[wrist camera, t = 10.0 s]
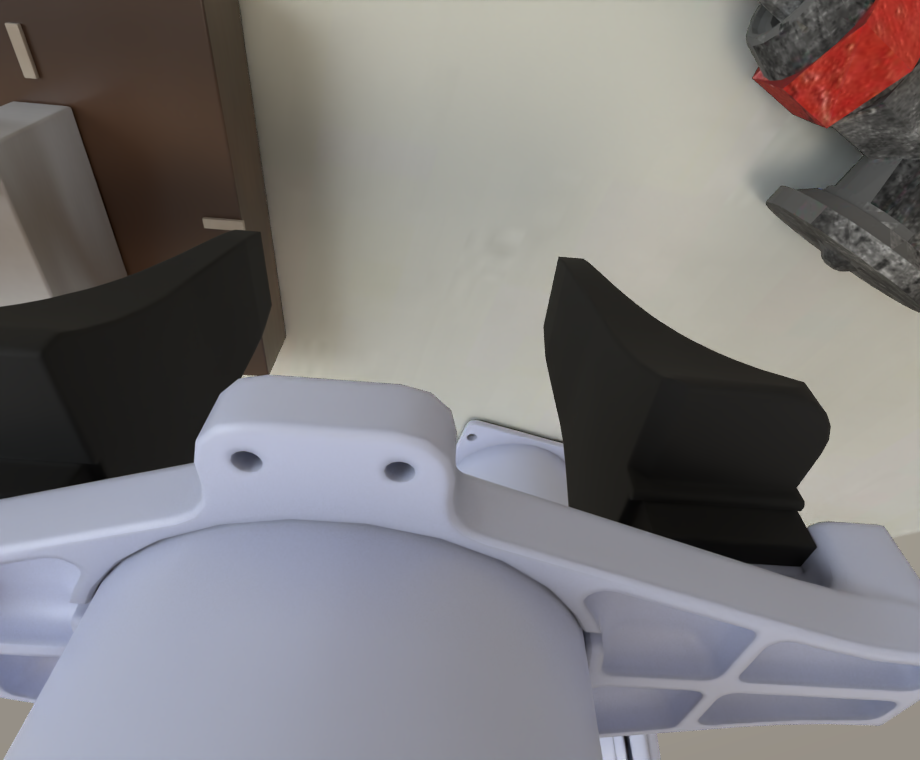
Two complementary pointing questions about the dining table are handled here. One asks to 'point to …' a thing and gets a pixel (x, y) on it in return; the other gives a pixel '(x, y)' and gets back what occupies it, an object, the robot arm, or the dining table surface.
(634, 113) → the dining table surface
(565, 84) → the dining table surface
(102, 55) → the block
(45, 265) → the tap handle
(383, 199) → the dining table surface
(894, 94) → the grey and red tool
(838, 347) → the dining table surface
